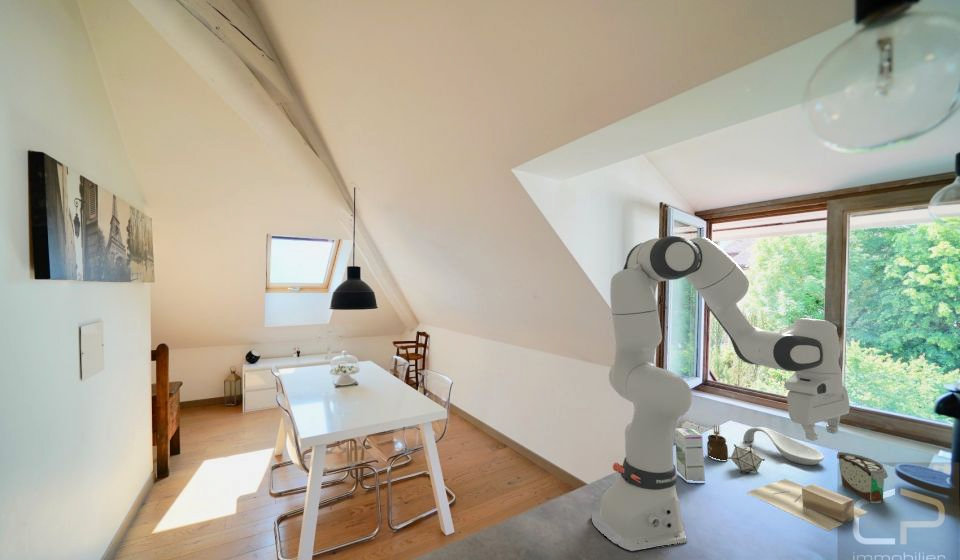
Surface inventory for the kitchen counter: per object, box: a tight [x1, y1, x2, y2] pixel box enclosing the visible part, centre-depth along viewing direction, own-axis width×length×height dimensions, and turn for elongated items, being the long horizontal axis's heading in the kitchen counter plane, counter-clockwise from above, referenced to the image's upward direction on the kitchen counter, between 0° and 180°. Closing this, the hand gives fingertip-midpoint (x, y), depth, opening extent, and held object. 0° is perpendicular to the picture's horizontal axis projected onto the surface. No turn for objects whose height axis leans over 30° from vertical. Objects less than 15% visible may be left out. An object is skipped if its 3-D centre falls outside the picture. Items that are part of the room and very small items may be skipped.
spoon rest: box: [742, 426, 825, 466], centre depth 126 cm, size 24×12×7 cm, turn 18°
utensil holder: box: [706, 424, 729, 461], centre depth 124 cm, size 6×6×12 cm
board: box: [746, 478, 869, 532], centre depth 95 cm, size 18×18×1 cm
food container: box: [836, 451, 889, 504], centre depth 98 cm, size 12×6×10 cm, turn 168°
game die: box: [728, 444, 766, 474], centre depth 114 cm, size 9×8×10 cm
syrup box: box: [674, 427, 706, 482], centre depth 111 cm, size 6×6×14 cm
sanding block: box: [802, 483, 855, 525], centre depth 91 cm, size 5×8×4 cm, turn 22°
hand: (822, 436), depth 92 cm, fingers open, 8 cm apart
